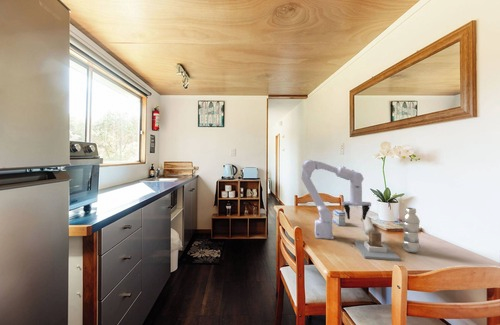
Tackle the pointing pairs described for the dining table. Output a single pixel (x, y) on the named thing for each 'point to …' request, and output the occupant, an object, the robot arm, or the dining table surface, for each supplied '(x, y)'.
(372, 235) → the walnut block
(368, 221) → the tube
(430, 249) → the dining table surface
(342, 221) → the medicine box
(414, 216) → the plastic bottle
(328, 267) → the dining table surface
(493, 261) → the dining table surface
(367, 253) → the dock board
